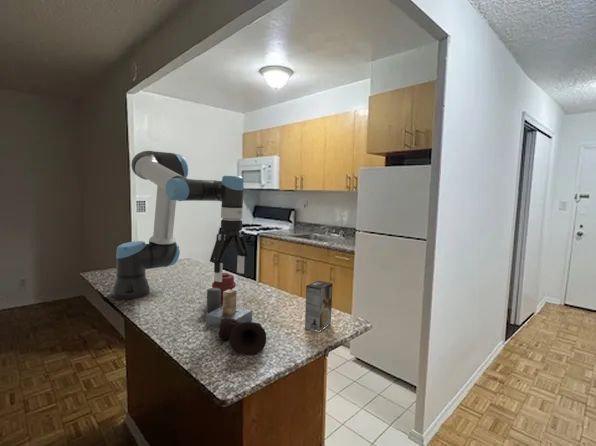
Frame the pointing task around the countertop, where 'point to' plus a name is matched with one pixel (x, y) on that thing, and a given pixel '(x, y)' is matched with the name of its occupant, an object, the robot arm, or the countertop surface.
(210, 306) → the gray capsule
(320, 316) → the coffee box
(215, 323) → the socket block
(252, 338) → the pipe
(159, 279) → the countertop surface
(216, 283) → the mechanical component
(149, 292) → the robot arm
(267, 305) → the countertop surface
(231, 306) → the oak peg
